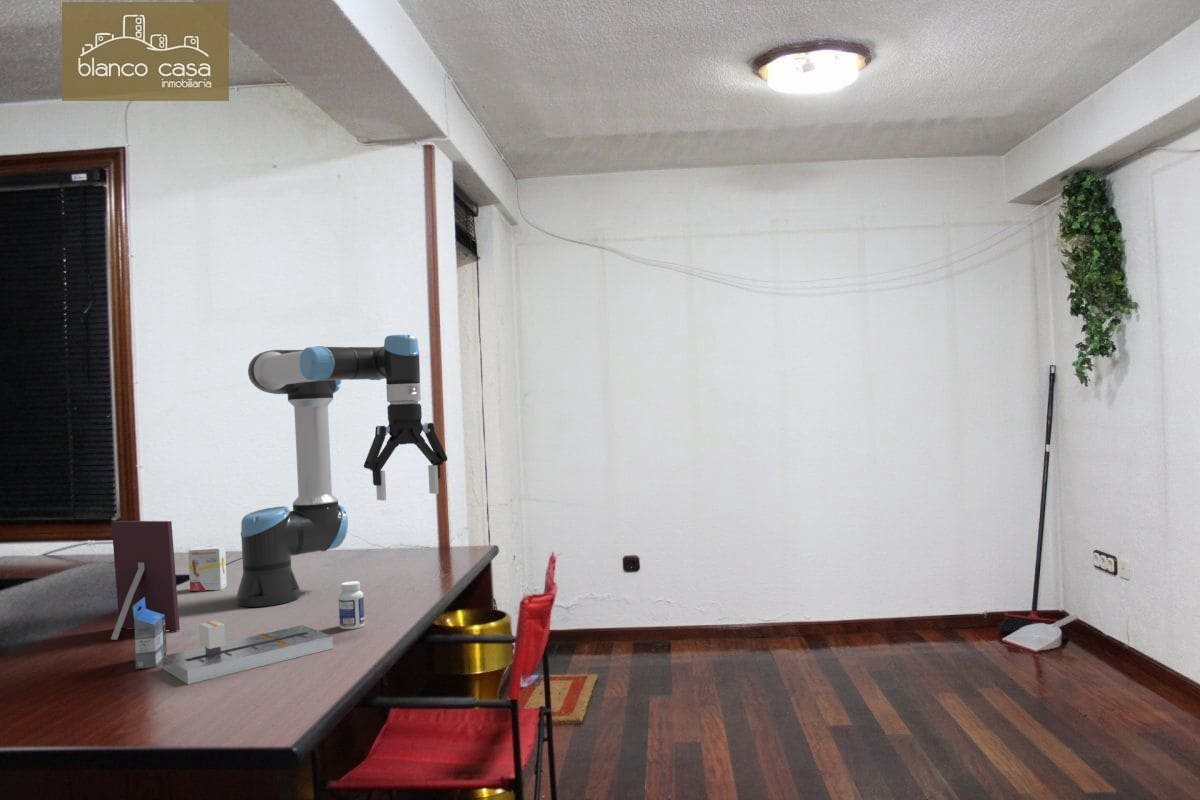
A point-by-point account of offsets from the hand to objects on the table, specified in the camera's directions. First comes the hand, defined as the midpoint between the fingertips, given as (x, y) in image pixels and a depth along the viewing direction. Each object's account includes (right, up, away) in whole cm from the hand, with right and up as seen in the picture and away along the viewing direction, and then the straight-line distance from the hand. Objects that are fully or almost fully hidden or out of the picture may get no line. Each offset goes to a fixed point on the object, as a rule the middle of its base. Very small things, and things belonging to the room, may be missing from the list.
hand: (408, 496), depth 196 cm
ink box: (-66, -31, +44) cm, 85 cm away
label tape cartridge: (-45, -30, -25) cm, 60 cm away
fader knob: (-31, -29, -30) cm, 52 cm away
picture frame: (-61, -31, -2) cm, 69 cm away
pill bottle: (-12, -29, -4) cm, 31 cm away
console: (-26, -29, -25) cm, 46 cm away
